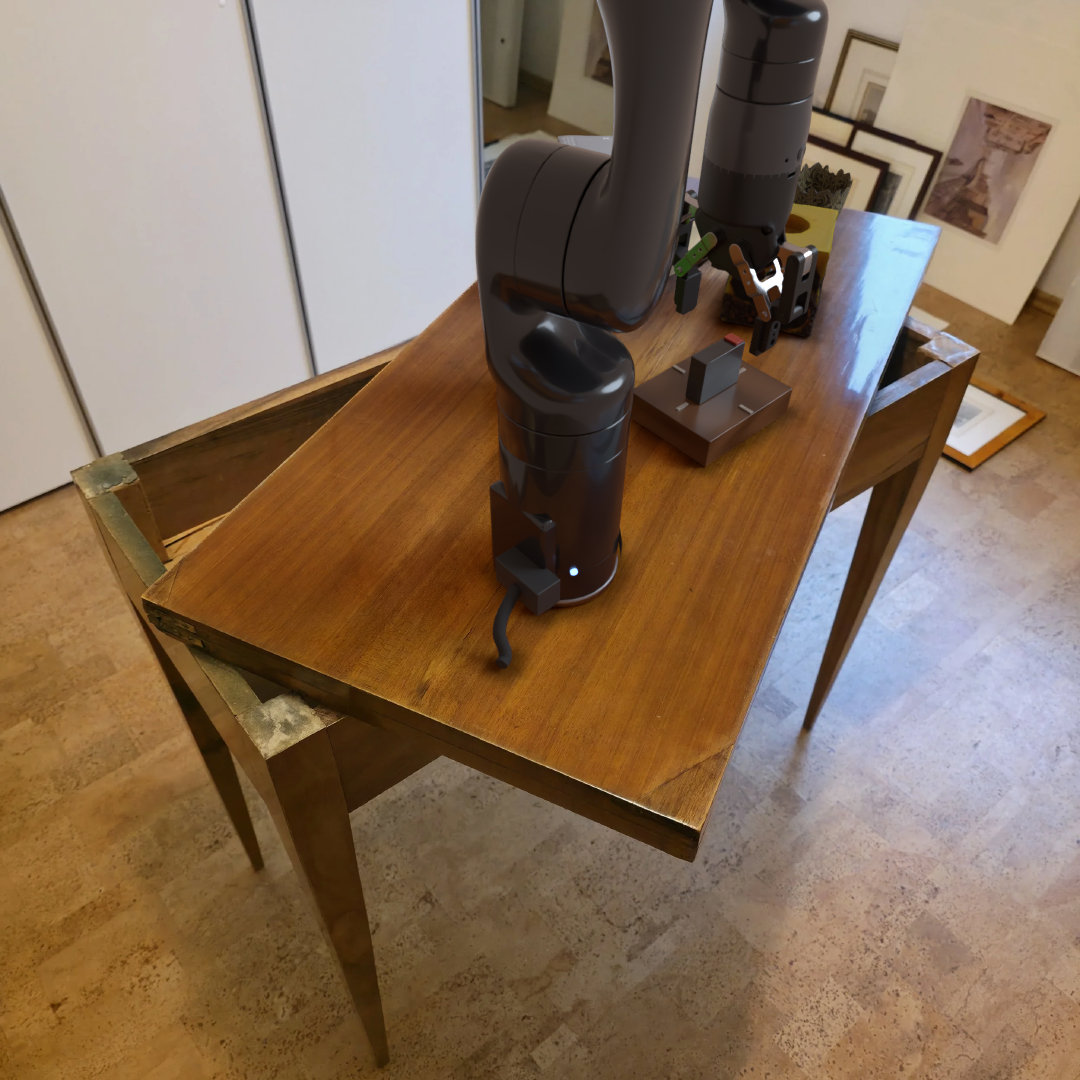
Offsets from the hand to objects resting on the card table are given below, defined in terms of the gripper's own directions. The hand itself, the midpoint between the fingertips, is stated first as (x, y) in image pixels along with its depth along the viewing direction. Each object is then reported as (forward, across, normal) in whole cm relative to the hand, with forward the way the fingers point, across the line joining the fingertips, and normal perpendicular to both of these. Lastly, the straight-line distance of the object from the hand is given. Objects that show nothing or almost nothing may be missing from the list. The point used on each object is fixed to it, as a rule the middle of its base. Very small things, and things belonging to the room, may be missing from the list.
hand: (721, 330), depth 78 cm
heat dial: (+6, 0, 0) cm, 6 cm away
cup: (+10, -15, +36) cm, 40 cm away
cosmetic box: (+10, -25, +7) cm, 27 cm away
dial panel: (+9, 0, 0) cm, 9 cm away
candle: (+10, -8, +20) cm, 23 cm away
